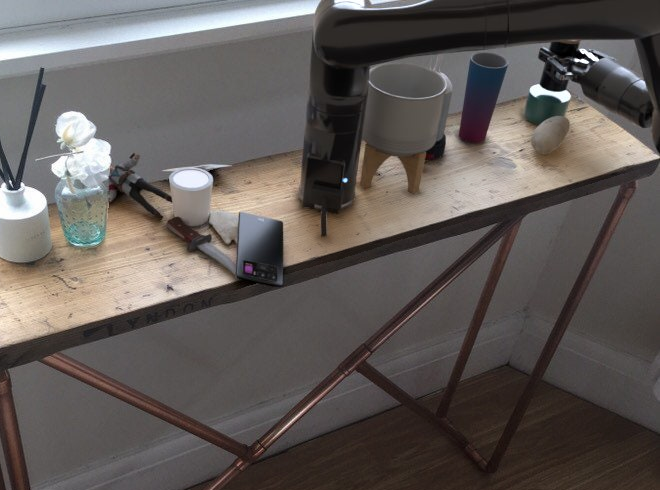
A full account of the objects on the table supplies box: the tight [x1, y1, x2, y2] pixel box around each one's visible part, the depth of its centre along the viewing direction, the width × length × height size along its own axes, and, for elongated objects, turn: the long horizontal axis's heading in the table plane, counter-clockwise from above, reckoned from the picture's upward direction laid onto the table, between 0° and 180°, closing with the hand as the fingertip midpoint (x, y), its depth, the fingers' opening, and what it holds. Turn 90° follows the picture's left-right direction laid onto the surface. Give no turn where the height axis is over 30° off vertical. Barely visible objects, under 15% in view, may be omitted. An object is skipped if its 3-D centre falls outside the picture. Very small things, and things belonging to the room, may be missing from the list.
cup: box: [458, 51, 510, 144], centre depth 163 cm, size 7×7×15 cm
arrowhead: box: [208, 209, 239, 245], centre depth 140 cm, size 7×2×10 cm
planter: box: [359, 62, 447, 196], centre depth 149 cm, size 13×13×18 cm
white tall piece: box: [425, 54, 453, 162], centre depth 154 cm, size 8×8×25 cm
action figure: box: [107, 152, 172, 221], centre depth 142 cm, size 9×7×15 cm
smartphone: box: [235, 211, 284, 288], centre depth 135 cm, size 7×15×1 cm, turn 2°
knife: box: [166, 216, 236, 276], centre depth 135 cm, size 17×1×5 cm
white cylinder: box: [168, 167, 214, 227], centre depth 140 cm, size 7×7×7 cm
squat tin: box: [522, 83, 572, 126], centre depth 174 cm, size 8×8×5 cm
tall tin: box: [539, 40, 582, 92], centre depth 168 cm, size 5×5×10 cm
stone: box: [530, 116, 571, 155], centre depth 165 cm, size 6×6×12 cm
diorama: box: [161, 163, 233, 172], centre depth 151 cm, size 8×12×2 cm
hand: (552, 50), depth 169 cm, fingers closed on tall tin, 5 cm apart
